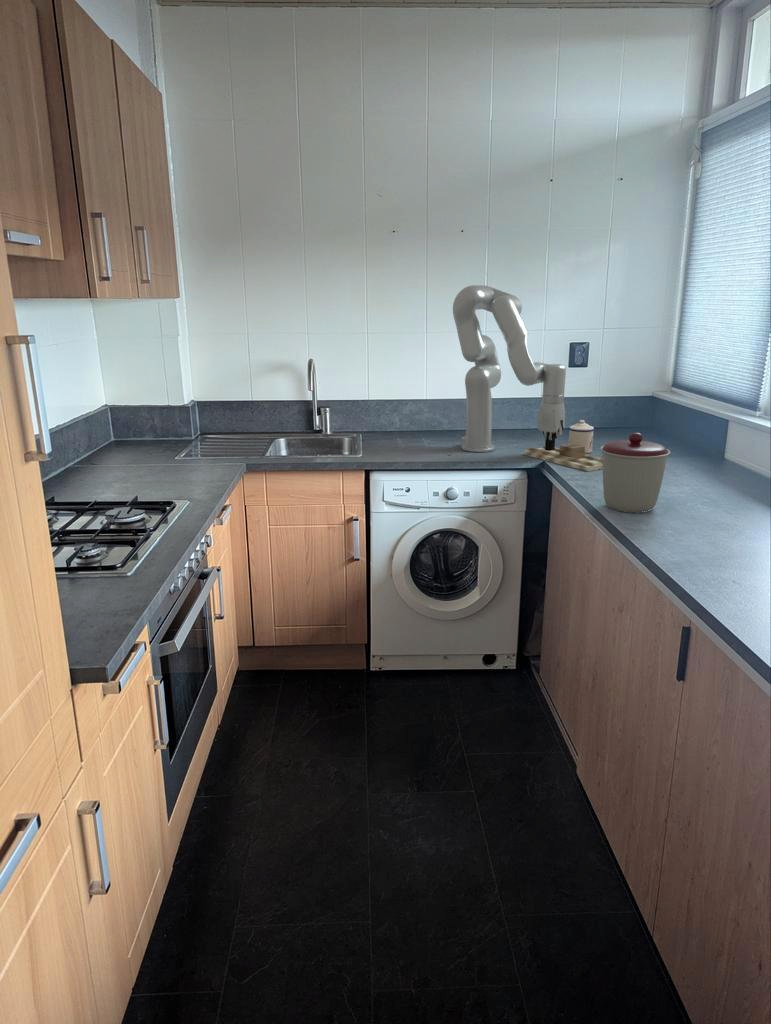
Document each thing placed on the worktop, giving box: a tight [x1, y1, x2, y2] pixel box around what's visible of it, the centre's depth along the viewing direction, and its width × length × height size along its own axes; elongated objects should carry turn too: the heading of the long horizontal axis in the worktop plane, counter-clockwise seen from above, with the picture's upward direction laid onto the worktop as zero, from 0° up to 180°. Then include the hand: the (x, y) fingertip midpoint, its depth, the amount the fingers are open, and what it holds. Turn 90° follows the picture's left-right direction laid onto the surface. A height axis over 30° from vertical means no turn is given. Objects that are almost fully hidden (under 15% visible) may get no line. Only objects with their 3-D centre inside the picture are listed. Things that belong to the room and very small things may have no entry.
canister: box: [599, 432, 671, 513], centre depth 198 cm, size 18×18×21 cm
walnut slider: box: [559, 443, 586, 459], centre depth 255 cm, size 6×6×4 cm
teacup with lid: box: [568, 419, 595, 454], centre depth 273 cm, size 12×9×12 cm
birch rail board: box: [523, 444, 603, 472], centre depth 258 cm, size 32×12×2 cm, turn 31°
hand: (549, 449), depth 265 cm, fingers closed
